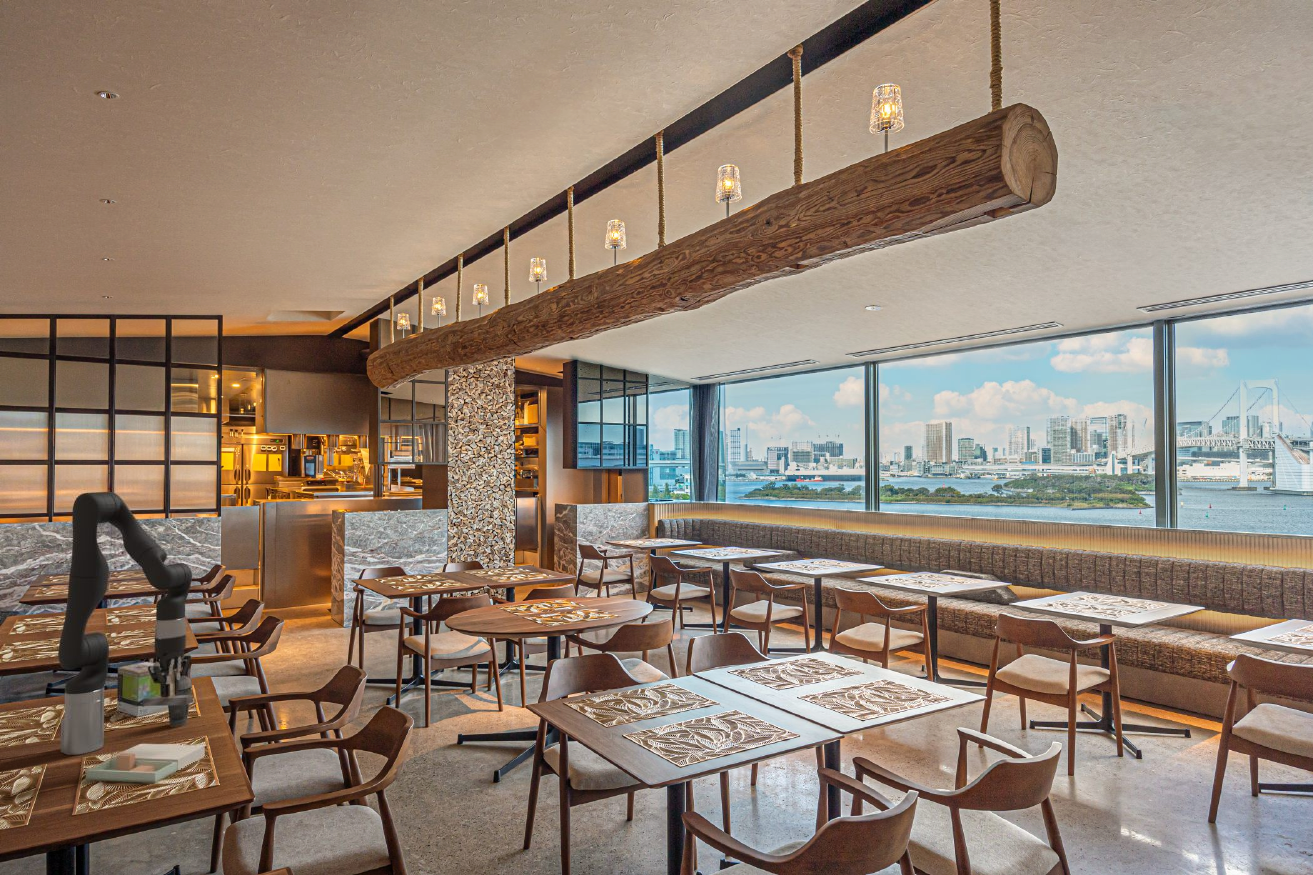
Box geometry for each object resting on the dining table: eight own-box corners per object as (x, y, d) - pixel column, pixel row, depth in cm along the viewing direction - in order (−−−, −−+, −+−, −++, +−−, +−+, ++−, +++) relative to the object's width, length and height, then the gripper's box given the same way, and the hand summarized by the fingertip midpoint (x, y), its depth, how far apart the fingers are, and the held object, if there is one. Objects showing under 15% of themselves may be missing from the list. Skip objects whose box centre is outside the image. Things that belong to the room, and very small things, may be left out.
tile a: (121, 768, 203) (116, 770, 201) (122, 753, 203) (116, 755, 202) (135, 768, 203) (129, 771, 201) (135, 753, 203) (129, 756, 201)
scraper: (142, 705, 214) (141, 670, 214) (150, 703, 216) (148, 668, 217) (186, 704, 212) (185, 669, 212) (193, 701, 214) (192, 666, 215)
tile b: (140, 765, 200) (140, 772, 200) (128, 771, 196) (127, 778, 196) (153, 765, 200) (153, 772, 200) (141, 771, 196) (141, 778, 196)
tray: (85, 779, 197) (86, 770, 197) (110, 768, 204) (110, 759, 204) (155, 782, 194) (155, 772, 194) (177, 770, 202) (177, 761, 202)
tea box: (169, 709, 255) (170, 665, 256) (136, 717, 247) (137, 672, 247) (148, 702, 263) (148, 660, 264) (115, 710, 255) (116, 666, 255)
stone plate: (111, 768, 205) (111, 756, 205) (140, 754, 214) (140, 743, 215) (177, 770, 202) (178, 759, 202) (204, 756, 212) (204, 745, 212)
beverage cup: (178, 729, 235) (179, 664, 236) (158, 728, 236) (159, 664, 237) (197, 721, 242) (198, 659, 243) (178, 720, 244) (178, 658, 244)
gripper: (177, 628, 222) (176, 687, 221) (138, 639, 208) (137, 702, 208) (200, 629, 221) (199, 688, 220) (162, 640, 207) (161, 703, 207)
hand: (169, 694), depth 214 cm, fingers closed on scraper, 2 cm apart
